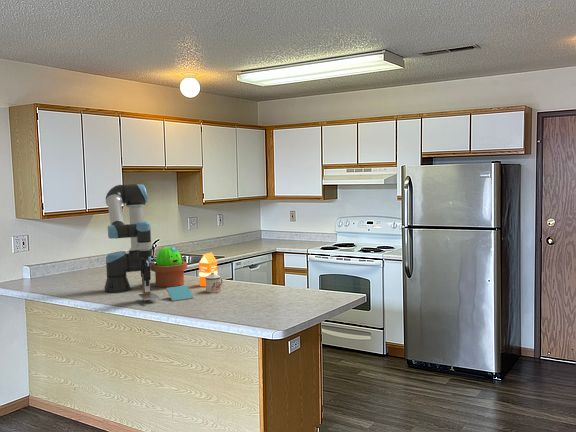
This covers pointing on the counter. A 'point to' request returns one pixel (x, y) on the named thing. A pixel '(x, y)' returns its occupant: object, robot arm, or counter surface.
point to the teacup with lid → (213, 283)
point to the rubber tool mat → (140, 303)
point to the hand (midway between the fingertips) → (146, 290)
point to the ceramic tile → (179, 293)
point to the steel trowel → (146, 294)
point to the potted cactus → (169, 268)
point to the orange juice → (207, 267)
